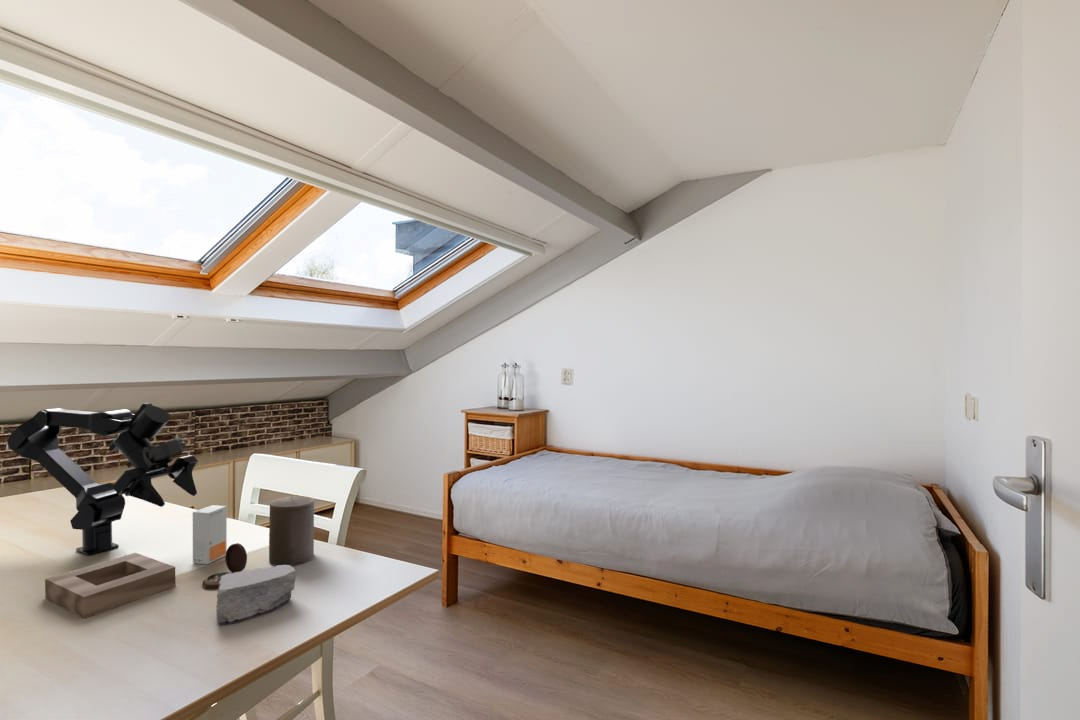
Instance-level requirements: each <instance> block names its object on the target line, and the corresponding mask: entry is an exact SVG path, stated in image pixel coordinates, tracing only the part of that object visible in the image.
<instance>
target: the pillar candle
mask: <svg viewBox="0 0 1080 720" xmlns="http://www.w3.org/2000/svg"><path fill="white" fill-rule="evenodd" d="M314 523H315V498H313V497H310V496H300V495H298V496H297V495H296V496H292V495H290V496H285V497H284V496H283V497H280V498H276V499H273V500H271V501H270V502H269V534H268V537H269V538H268V562H269V563H270V564H271V563H272V564H271V565H273V566H278V565H290V566H292V567H293V566H298V565H301V564H304V563H303V562H305V563H307V562H309V561H310V559H311V558H312V557H313V558H314V555H315V554H314V551H315V549H314V547H315V546H314V544H315V541H314V539H315V534H314V533H315V524H314ZM313 558H312V559H313ZM312 559H311V560H312ZM308 560H309V561H308ZM306 561H307V562H306ZM300 563H301V564H300ZM297 564H298V565H297Z"/></svg>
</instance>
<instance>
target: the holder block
mask: <svg viewBox="0 0 1080 720" xmlns="http://www.w3.org/2000/svg"><path fill="white" fill-rule="evenodd" d="M44 583H45V584H44V589H45V590H44V591H45V592H44V594H45V598H46V599H45V600H47V599H48V600H47V601H49V602H51V603H53V604H55V605H57V606H59V607H61V608H62V609H65V610H66V611H69V612H71V613H73V614H75V615H77V616H79V617H80V618H82V619H86V618H89V617H92V616H94V615H98V614H100V613H103V612H106V611H109V610H111V609H114V608H116V607H117V608H118V607H120V606H123V605H126V604H128V603H132V602H135V601H137V600H139V599H143V598H145V597H148V596H151V595H153V594H157V593H159V592H162V591H165V590H168V589H171V588H174V587H176V566H174V565H171V564H168V563H165V562H163V561H160V560H157V559H154V558H151V557H148V556H145V555H143V554H140V553H138V552H132V553H128V554H126V555H123V556H118V557H115V558H111V559H109V560H106V561H101V562H98V563H95V564H92V565H87V566H84V567H81V568H77V569H74V570H73V569H72V570H70V571H67V572H64V573H60V574H57V575H53V576H50V577H46V578H45V579H44ZM131 601H132V602H131Z"/></svg>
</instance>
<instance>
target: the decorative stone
mask: <svg viewBox="0 0 1080 720" xmlns="http://www.w3.org/2000/svg"><path fill="white" fill-rule="evenodd" d="M296 576H297V571H296V568H294V567H293V565H292V566H290V565H275V566H274V567H260V568H253V569H244V570H242V571H241V572H235V573H233V574H226V575H223V576H222V577H221V580H220V581H219V588H217V589H218V590H217V593H216V594H217V595H216V598H217V600H216V620H217V623H218V624H219V625H221V626H222V625H223V626H226V625H230V624H236V623H239V622H244V621H247V620H250V619H253V618H256V617H259V616H263V615H266V614H268V613H271V612H273V611H275V610H276V609H278V608H281V607H282V606H284V605H286V604H287V603H288V602H289V601H290V600H291V598H292V591H294V590H295V586H296V585H295V582H296Z"/></svg>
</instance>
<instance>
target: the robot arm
mask: <svg viewBox="0 0 1080 720" xmlns="http://www.w3.org/2000/svg"><path fill="white" fill-rule="evenodd" d="M170 420H171V416H170V414H169V412H168V411H167V410H164V409H163V408H161V407H159V406H156V405H153V404H152V403H151V402H145V403H142V404H141V405H140V407H139V409H138V410H137V411H136V413H132V411H131V410H129V409H126V408H125V409H116V410H109V411H101V412H99V411H98V412H97V411H85V410H76V409H75V410H74V409H65V408H60V407H56V408H47V409H41V410H40V411H37V412H36V413H35V415H34V416H33V417H30V418H29V419H28V420H26V421H25V422H23V423H21V424H19V425H18V426H17V427H16V428H15V429H14V430H13V431H12V432H11V433H10V434H9V436H7V437H8V438H7V440H6V441H7V445H8V447H9V448H10V450H11V451H12V452H14V453H15V454H16V455H18V456H20V457H21V458H23V459H27V460H31V461H35V462H37V463H38V464H40V466H42V467H43V468H44V469H45V470H46V472H48V473H49V474H50V475H51V476H52V477H53V478H54V479H55V480H56V481H58V483H60V484H61V486H62V487H64V488H65V489H66V490H67V491H68V492H69V493H70V494H71V495H72V496H73V497H74V498H75V501H76V504H75V507H76V510H77V513H76V514H74V516H73V517H72V518H71V519H70V526H71V528H72V529H73V530H81V531H82V533H81V534H82V536H81V537H82V539H81V540H82V546H79V547H77V548H75V550H76V552H79V553H82V554H84V555H87V556H90V555H94V554H95V555H96V554H99V553H101V552H104V551H108V550H112V549H113V550H114V549H116V548H119V547H120V545H119V544H118V543H115V542H113V524H112V522H115V521H119V520H121V519H122V516H123V512H124V510H125V506H126V499H125V497H128V496H129V497H132V498H135V499H139V500H142V501H145V502H147V503H150V504H153V505H155V506H158V507H160V508H163V507H164V506H165V505H166V503H165V500H164V498H163V497H162V495H161V494H160V493H159V492H158V490H157V489H156V488H155V487H154V485H153V483H152V479H156V478H161V477H164V476H167V475H168V476H169V478H170V479H173V480H172V483H174V484H175V485H177V486H178V487H179V488H181V489H182V490H183V491H185V492H186V493H188V494H189V495H191V496H192V497H194V496H195V497H196V495H197V494H198V491H197V488H196V484H195V481H194V477H193V470H194V469H195V467H196V465H197V464H198V463H199V460H198V459H197V458H196V457H195V456H194V455H190V454H189V455H184V456H180V457H178V458H176V459H175V461H174V462H173V463H171V462H172V461H173V460H174V458H173V457H175V456H176V455H179V454H182V453H183V452H184V450H185V449H186V448H187V445H186V443H185V441H184V440H183V439H182V438H181V437H179V436H178V437H174V438H173V439H170V440H169V441H165V442H163V443H162V442H161V443H159V444H157V445H153V444H152V443H151V441H150V439H153V438H155V437H156V436H157V435H158V434H159V433H160V431H161V430H162V429H163V428H164V427H165V426H166V425H167V424H168V422H169V421H170ZM62 427H65V428H75V429H84V430H89V432H91V433H92V434H94V435H99V436H101V437H108V436H114V435H115V436H116V435H117V437H115V438H114V439H111V440H110V445H109V447H108V451H109V452H115V451H120V453H122V455H123V456H124V457H125V459H126V460H127V461H128V462H127V463H126V467H128V469H127V470H125V471H123V473H122V474H121V475H120V476H119V477H118V479H117V480H116V481H115V482H114V483H112V482H106V483H101V484H100V483H97V482H96V481H95V480H94V479H92V478H91V476H89V475H88V474H87V473H86V472H85V471H84V470H83V469H82V468H81V467H80V466H79V465H77V464H76V463H75V462H74V461H73V460H72V459H71V458H70V457H69V456H68V455H67V454H66V453H65V452H63V450H61V448H59V439H60V438H59V437H58V436H59V435H60V434H61V433H62ZM169 463H171V465H170V464H169ZM129 468H131V469H129ZM124 495H125V497H124Z"/></svg>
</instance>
